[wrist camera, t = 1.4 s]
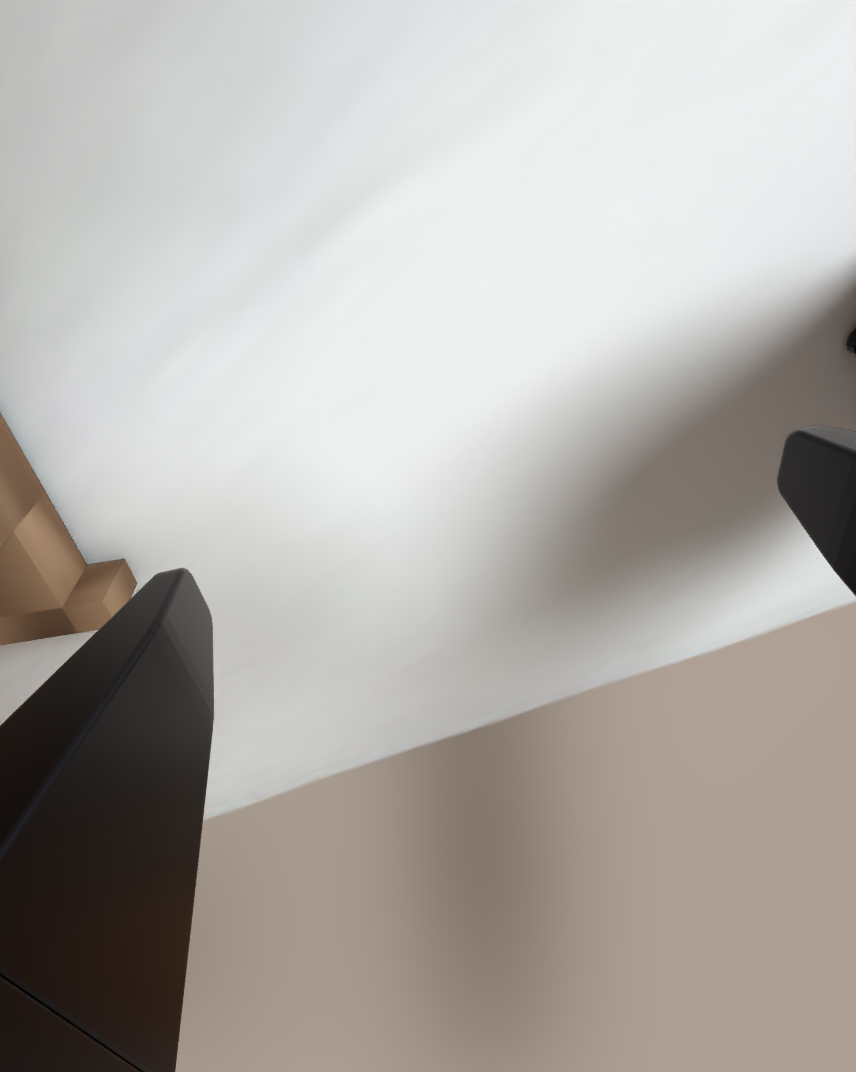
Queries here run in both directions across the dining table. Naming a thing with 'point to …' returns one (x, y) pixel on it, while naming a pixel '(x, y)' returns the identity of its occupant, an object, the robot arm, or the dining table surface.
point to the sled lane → (47, 562)
